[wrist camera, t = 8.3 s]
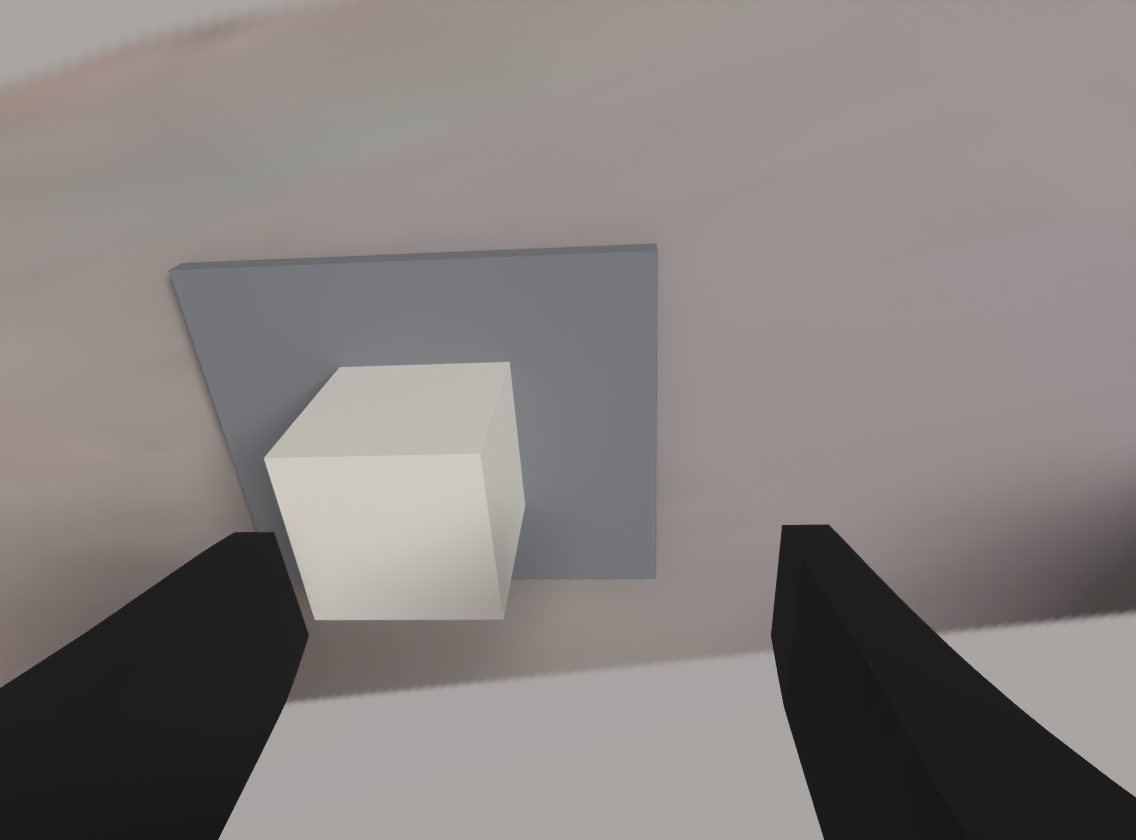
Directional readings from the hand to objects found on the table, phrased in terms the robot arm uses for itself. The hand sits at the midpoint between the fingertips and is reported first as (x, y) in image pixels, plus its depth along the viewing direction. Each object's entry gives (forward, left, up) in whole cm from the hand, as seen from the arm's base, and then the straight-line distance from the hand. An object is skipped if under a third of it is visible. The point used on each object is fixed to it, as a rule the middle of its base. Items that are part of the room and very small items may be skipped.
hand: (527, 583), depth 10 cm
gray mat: (+4, +3, -9) cm, 10 cm away
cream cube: (+4, +3, -9) cm, 10 cm away
